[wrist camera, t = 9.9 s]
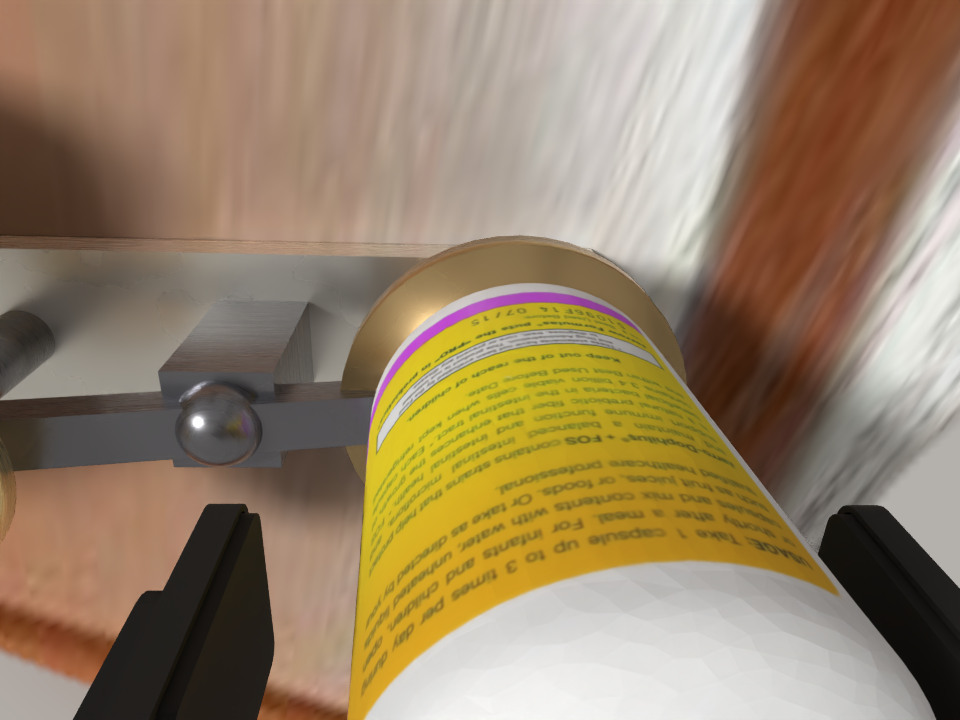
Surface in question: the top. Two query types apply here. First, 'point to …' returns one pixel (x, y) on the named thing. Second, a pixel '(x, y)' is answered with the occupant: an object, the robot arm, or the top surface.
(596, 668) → the supplement bottle
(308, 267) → the balance
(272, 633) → the robot arm
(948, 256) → the top surface
